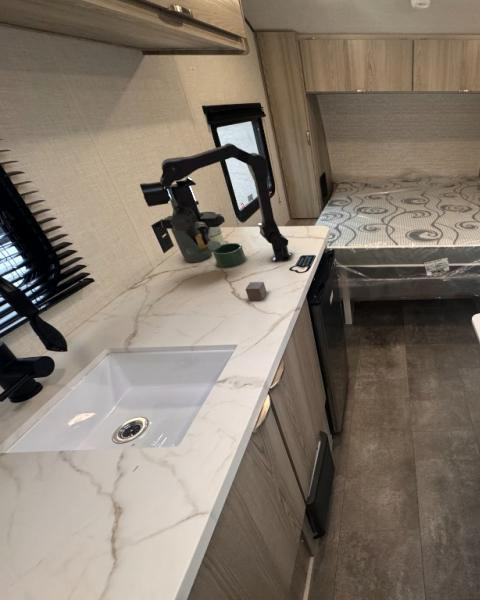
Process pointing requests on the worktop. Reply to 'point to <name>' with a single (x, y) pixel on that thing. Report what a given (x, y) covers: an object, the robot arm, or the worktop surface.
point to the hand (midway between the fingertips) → (202, 244)
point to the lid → (202, 246)
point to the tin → (229, 255)
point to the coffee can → (214, 231)
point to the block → (256, 291)
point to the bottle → (186, 239)
